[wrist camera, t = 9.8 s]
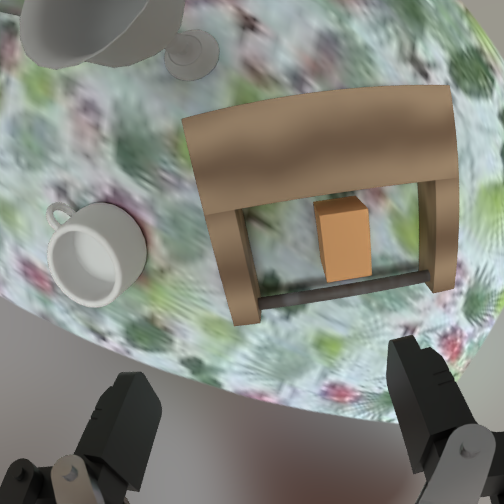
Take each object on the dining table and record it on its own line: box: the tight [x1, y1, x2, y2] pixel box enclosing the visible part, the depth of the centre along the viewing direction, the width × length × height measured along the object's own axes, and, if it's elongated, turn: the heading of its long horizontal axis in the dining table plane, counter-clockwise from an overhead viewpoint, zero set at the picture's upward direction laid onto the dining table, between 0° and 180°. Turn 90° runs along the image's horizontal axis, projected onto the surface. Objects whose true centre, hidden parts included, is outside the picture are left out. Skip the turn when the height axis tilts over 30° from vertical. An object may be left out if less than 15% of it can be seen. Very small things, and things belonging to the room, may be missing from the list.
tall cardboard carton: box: [313, 196, 372, 283], centre depth 28 cm, size 6×4×4 cm, turn 11°
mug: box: [46, 202, 147, 308], centre depth 29 cm, size 12×10×6 cm
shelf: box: [181, 85, 459, 326], centre depth 27 cm, size 19×22×4 cm
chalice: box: [20, 0, 220, 81], centre depth 16 cm, size 7×7×18 cm
